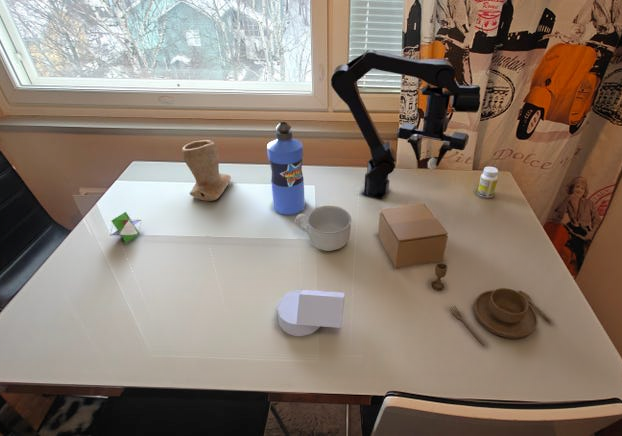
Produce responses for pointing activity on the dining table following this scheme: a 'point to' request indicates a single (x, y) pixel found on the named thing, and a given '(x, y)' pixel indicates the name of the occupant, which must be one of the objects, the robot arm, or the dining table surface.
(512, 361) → the dining table surface
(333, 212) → the teacup
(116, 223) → the geometric puzzle
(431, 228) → the carton
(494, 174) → the supplement bottle
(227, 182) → the stone cup
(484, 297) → the place setting
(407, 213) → the flap
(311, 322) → the wedge on round base
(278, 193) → the water bottle
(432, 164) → the watch
